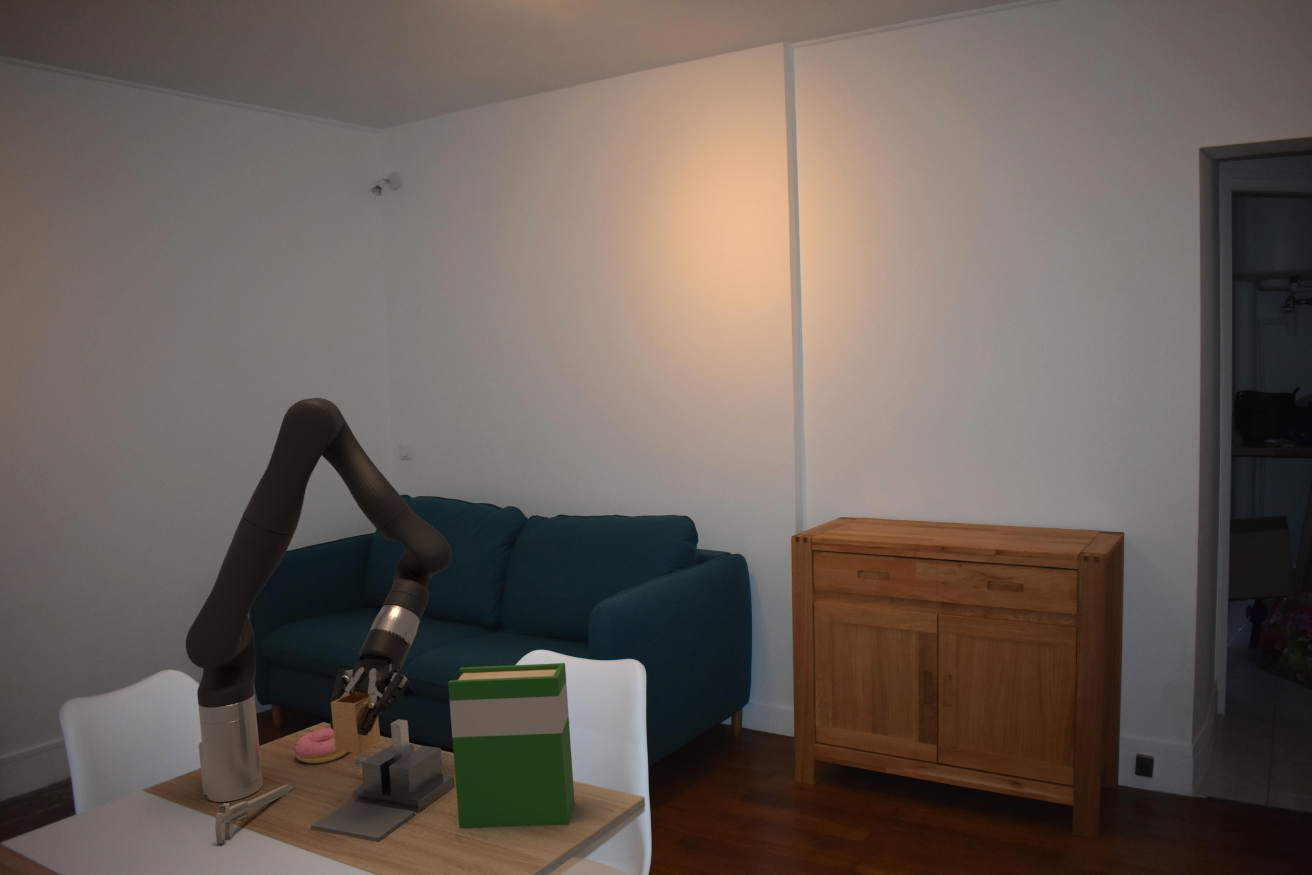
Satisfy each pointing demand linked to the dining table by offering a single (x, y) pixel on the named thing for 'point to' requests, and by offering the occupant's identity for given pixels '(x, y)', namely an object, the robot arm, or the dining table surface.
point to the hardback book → (512, 746)
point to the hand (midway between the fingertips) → (348, 731)
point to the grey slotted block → (403, 774)
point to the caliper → (242, 812)
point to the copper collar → (352, 723)
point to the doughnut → (317, 747)
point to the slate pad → (363, 820)
